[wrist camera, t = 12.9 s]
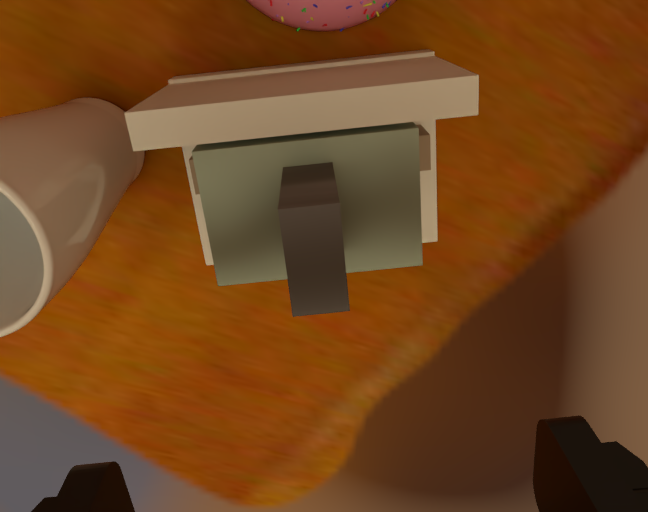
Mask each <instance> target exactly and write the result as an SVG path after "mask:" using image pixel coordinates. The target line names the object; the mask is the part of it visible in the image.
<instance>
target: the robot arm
mask: <svg viewBox="0 0 648 512" xmlns="http://www.w3.org/2000/svg"><path fill="white" fill-rule="evenodd" d="M533 488H534V494H535V499H536V502H537V506H538V509H539V512H648V467H647V466H646V465H645V463H644V462H643V461H642V460H640V459H639V458H638V457H637V456H635V455H634V454H633V453H631V452H630V451H629V450H627V449H626V448H625V447H623V446H622V445H620V444H619V443H618V442H616V441H615V442H606V443H601V442H600V440H599V439H598V437H597V436H596V434H595V433H594V431H593V430H592V428H591V427H590V425H589V424H588V423H587V422H586V420H585V419H584V418H583V417H582V416H571V417H561V418H552V419H542V420H539V422H538V424H537V431H536V445H535V457H534V471H533ZM31 512H135V511H134V507H133V504H132V501H131V498H130V495H129V492H128V489H127V486H126V483H125V480H124V477H123V474H122V471H121V469H120V466H119V464H118V463H116V462H105V463H95V464H85V465H76V466H74V467H73V468H72V469H71V470H70V471H69V473H68V475H67V477H66V479H65V481H64V483H63V485H62V487H61V489H60V491H59V493H58V496H57V497H47V498H44V499H43V500H42V501H41V502H40V503H39V504H38V505H37V506H36V507H35V508H34V509H33V510H32V511H31Z"/></svg>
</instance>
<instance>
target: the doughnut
mask: <svg viewBox="0 0 648 512" xmlns="http://www.w3.org/2000/svg"><path fill="white" fill-rule="evenodd" d="M246 1H248V2H249V3H250V4H251V5H252V6H254V7H255V8H256V9H258V10H259V11H260V12H262V13H263V14H265V15H267V16H268V17H270V18H272V21H274V20H276V21H278V22H280V23H282V24H285V25H288V26H291V27H295V28H298V29H297V30H296V31H297V32H298V31H299V30H300V29H304V30H311V31H335V30H340V31H342V30H343V29H346V28H349V27H353V26H356V25H358V24H361V23H363V22H366V21H368V20H370V19H372V18H374V17H376V16H377V17H379V14H381V13H382V12H383V11H385V10H386V9H387V8H389V7H390V6H391V5H392V4H393V3H394V2H395V1H396V0H246Z"/></svg>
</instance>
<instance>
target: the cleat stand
mask: <svg viewBox="0 0 648 512" xmlns="http://www.w3.org/2000/svg"><path fill="white" fill-rule="evenodd" d="M168 81H169V85H167V86H165V87H164V88H162V89H161V90H159V91H158V92H156V93H154V94H153V95H151V96H150V97H148V98H147V99H145V100H144V101H142V102H140V103H139V104H137V105H136V106H134V107H133V108H131V109H129V110H128V111H126V112H125V113H124V115H125V119H126V123H127V127H128V131H129V135H130V140H131V144H132V148H133V151H142V150H152V149H161V148H171V147H180V146H182V150H183V155H184V160H185V164H186V169H187V174H188V179H189V184H190V189H191V194H192V199H193V203H194V208H195V213H196V218H197V223H198V228H199V233H200V238H201V242H202V247H203V252H204V257H205V262H206V265H214V263H213V258H212V253H211V248H210V242H209V237H208V232H207V227H206V222H205V217H204V212H203V207H202V202H201V197H200V192H199V187H198V182H197V177H196V172H195V167H194V162H193V157H192V151H193V149H194V148H195V147H196V145H199V144H208V143H218V142H227V141H237V140H246V139H256V138H265V137H275V136H284V135H293V134H303V133H312V132H322V131H331V130H341V129H350V128H360V127H369V126H378V125H388V124H397V123H407V122H414V123H415V125H416V126H417V127H418V128H419V158H420V192H421V227H422V243H426V242H436V241H438V239H437V179H436V119H445V118H454V117H463V116H473V115H478V98H479V75H477V74H475V73H473V72H471V71H468V70H466V69H464V68H461V67H459V66H457V65H454V64H452V63H450V62H448V61H445V60H443V59H441V58H438V57H436V56H434V51H432V50H429V49H425V50H416V51H407V52H397V53H388V54H379V55H369V56H360V57H351V58H341V59H332V60H323V61H313V62H304V63H295V64H285V65H276V66H267V67H257V68H248V69H239V70H229V71H220V72H211V73H201V74H192V75H183V76H174V77H173V78H171V79H169V80H168Z"/></svg>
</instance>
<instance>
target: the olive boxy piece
mask: <svg viewBox="0 0 648 512" xmlns="http://www.w3.org/2000/svg"><path fill="white" fill-rule="evenodd" d="M192 157H193V162H194V167H195V172H196V177H197V182H198V187H199V192H200V197H201V202H202V207H203V212H204V217H205V222H206V227H207V232H208V237H209V242H210V248H211V253H212V258H213V263H214V268H215V273H216V278H217V283H218V286H225V285H234V284H244V283H254V282H264V281H273V280H283V279H288V286H289V293H290V300H291V307H292V314H293V317H294V316H304V315H314V314H323V313H333V312H343V311H350V309H349V298H348V288H347V277H346V273H351V272H360V271H370V270H380V269H390V268H399V267H409V266H419V265H423V262H422V227H421V192H420V158H419V128H418V127H417V126H416V125H415V123H414V122H407V123H397V124H388V125H378V126H369V127H360V128H350V129H341V130H331V131H322V132H312V133H303V134H293V135H284V136H275V137H265V138H256V139H246V140H237V141H227V142H218V143H208V144H199V145H196V147H195V148H194V149H193V151H192Z"/></svg>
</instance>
